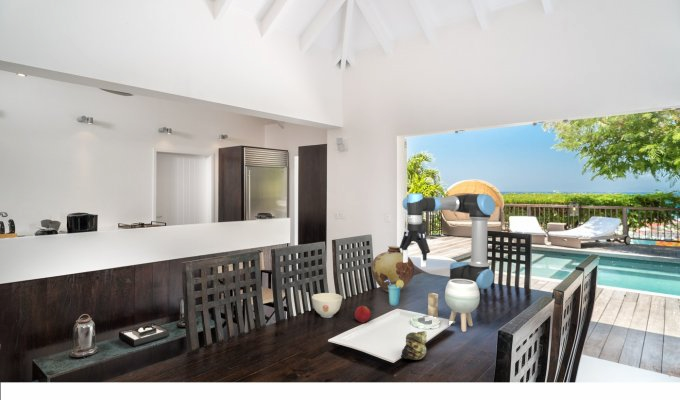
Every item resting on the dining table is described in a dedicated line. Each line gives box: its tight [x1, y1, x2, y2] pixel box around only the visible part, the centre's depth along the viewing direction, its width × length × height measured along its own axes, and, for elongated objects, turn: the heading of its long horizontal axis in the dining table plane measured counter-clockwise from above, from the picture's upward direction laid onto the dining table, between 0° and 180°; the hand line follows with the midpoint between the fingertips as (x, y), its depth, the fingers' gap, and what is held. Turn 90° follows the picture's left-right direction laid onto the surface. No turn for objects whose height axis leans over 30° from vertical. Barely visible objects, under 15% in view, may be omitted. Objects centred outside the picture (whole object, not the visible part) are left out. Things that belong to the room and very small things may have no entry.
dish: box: [409, 315, 441, 329], centre depth 193 cm, size 14×14×3 cm
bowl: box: [311, 292, 343, 319], centre depth 204 cm, size 16×16×10 cm
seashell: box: [400, 330, 427, 361], centre depth 153 cm, size 11×11×10 cm
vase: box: [371, 245, 415, 293], centre depth 254 cm, size 28×27×30 cm
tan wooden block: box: [427, 292, 439, 318], centre depth 205 cm, size 4×4×12 cm
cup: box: [384, 279, 404, 306], centre depth 227 cm, size 14×8×15 cm, turn 124°
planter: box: [444, 279, 481, 333], centre depth 189 cm, size 16×16×22 cm
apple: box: [354, 305, 372, 323], centre depth 195 cm, size 8×8×8 cm
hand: (414, 264), depth 201 cm, fingers open, 13 cm apart
